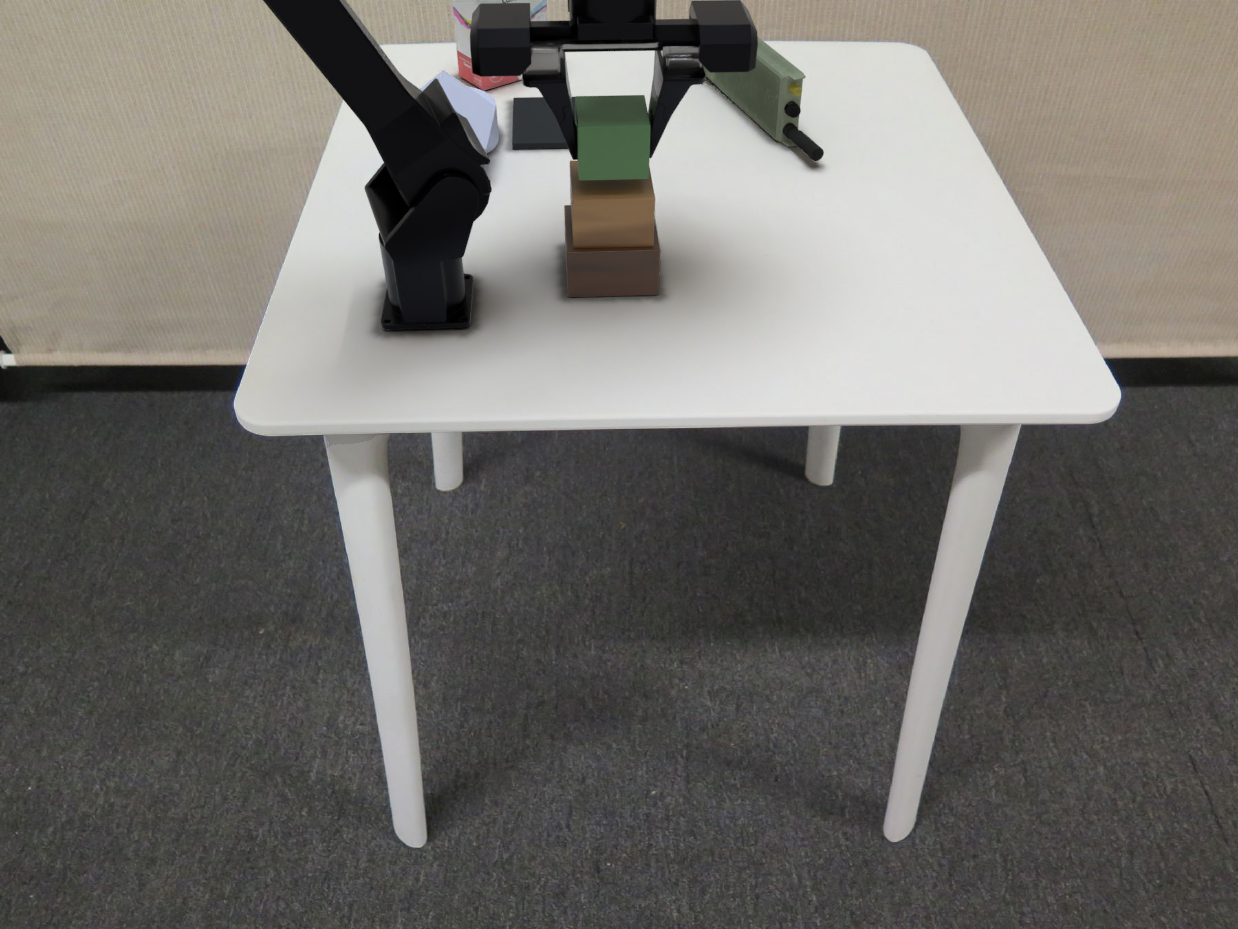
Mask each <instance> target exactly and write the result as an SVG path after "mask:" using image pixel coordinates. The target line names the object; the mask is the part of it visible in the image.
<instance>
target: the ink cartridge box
mask: <svg viewBox="0 0 1238 929" xmlns="http://www.w3.org/2000/svg"><path fill="white" fill-rule="evenodd" d="M451 2H452V3H451V4H452V13H453V26H454V34H455V46H456V47H455V48H456V57H457V58H456V59H457V67H458V76H459V77H460V78H462V79H464V80H465V81H468V82H469V83H471V84H472V85H474V86H475V87H477V88H478V89H480V90H482V91H487V90H490V89H493V88H494V89H495V88H497V87H500V86H504V85H508V84H510V83H511V84H512V83H513V82H517V81H522V74H521V75H520V76H484V77H481V76H478V75H476V74H473V73H472V62H471V51H470V30H471V21H472V13H473V12H474V11H475V9H476V8H477V7H478V6H479V4H482V3H530V11H531V21H548V5H547V4H548V0H451Z"/></svg>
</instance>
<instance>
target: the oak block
mask: <svg viewBox="0 0 1238 929" xmlns="http://www.w3.org/2000/svg"><path fill="white" fill-rule="evenodd" d="M652 178H653V177H652V172H651V167H650V165H649V179H623V180H579V176H578V162H577V160H569V192H570V193H569V194H570V197H569V198H570V205H571V222H572V239H573V248H613V247H653V243H654V219H655V220H656V215H655V213H656V194H655V190H654V184H653V179H652Z"/></svg>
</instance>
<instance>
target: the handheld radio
mask: <svg viewBox="0 0 1238 929" xmlns="http://www.w3.org/2000/svg"><path fill="white" fill-rule="evenodd" d="M703 67H704V66H703ZM704 70H705V74H706V78H707V79H708V80H709V81H710V82H711V83H712V84H714V85H715V86H716V87H717V88H718V89H719V90H720V91H721V92H722V93H723V94H724V95H726V96H727V97H728V98H729V99H730V100H731V101H732V102H733V103H734V104H735V105H736V106H737V107H738V108H740V109H741V111H743V112H744V113H745V114H746V115H748V116H749V117H750V118H751V119H752V121H754V122H755V123H756V124H757V125H758V126H759V127H760V128H762V130H764V131H765V132H766V134H768V135H769V136H771V137H772V138H773V140H775V141H776V142H778V143H781V144H782V145H784V146H786V147H787V148H788V147H794V146H797V148H798V149H799V150H801V151H802V152H803V153H804V154H805V155H806V156H807V157H808V158H809V159H810V160H812V161H813V162H819V161H820V160H822V159H823V157H824V154H825V151H824V149H823V148H822V147H821V146H819V145H818V144H817V143H816V142H815V141H814V140H813V139H812V138H810V137H809V136H808V135H807V134H806V133H805V132H804V131H802V130H800V129H799V122H800V115H801V112H802V109H801V102H802V95H803V94H802V92H803V82H804V79H805V78H806V77H807V76H806V75H805V73H804V72H803V71H802V70H800V69H799V68H798V67H797V66H795V65H794V64H793V63H792V62H791V61H789V60H788V59H787V58H785V57H784V55H782V54H780V53H779V52H778V51H777V50H775V49H774V48H773V47H771V45H769V44H768V43H766V42H765V41H764V40H763V39H761V38H760V37H759V36H758V48H757V57H756V67H755V69H753V70H751V71H749V72H718V73H710V72H709V71H708V70H707V69H706V68H705V67H704Z"/></svg>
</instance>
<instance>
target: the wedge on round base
mask: <svg viewBox="0 0 1238 929" xmlns="http://www.w3.org/2000/svg"><path fill="white" fill-rule="evenodd" d="M434 79H438V80H439V82H440V84H441V86H442V88H443V90H444V92H445V93H446V95H447V97H448V99H449V101H450V103H451V104H452V106H453V108H454V109H455V110H456V112H457V113H459V114H460V115H462V116H464V117H465V118H467V119H468V121H469V123H470V125H471V127H472V128H473V130H474V132H475V134H476V136H477V138H478V139H479V141H480V143H481V145H482V147H483V148H484V150H485V152H486V154H487V155H488V154H489V153H491V152H492V151H493V150H494V149H495V148H496V147H497V146H498V143H499V139H500V138H499V136H500V134H499V124H498V109H497V102H496V99H495V98H494V96H493V95H491V93H488V92H487V91H486V90H482V89H480V88H478V87H477V88H476V87H472V86H467V85H466V84H464V83H463V82H462V81H460V80H458V79H457V78H455V76H453V75H451V74H450V73H449V72H447V71H446V70H444V69H442V70H441V72H439V73H437V74H436V75H435V76H434V77H433V78H431V79H430V80H428V81H427V82H426V83H425V84H424V85H422V86H421V87H420V88H419V89H420V90H421V91H423V90H424V89H425V88H426V87H427V86H428V85H429V84H430V83H431V82H432V81H433V80H434Z"/></svg>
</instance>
